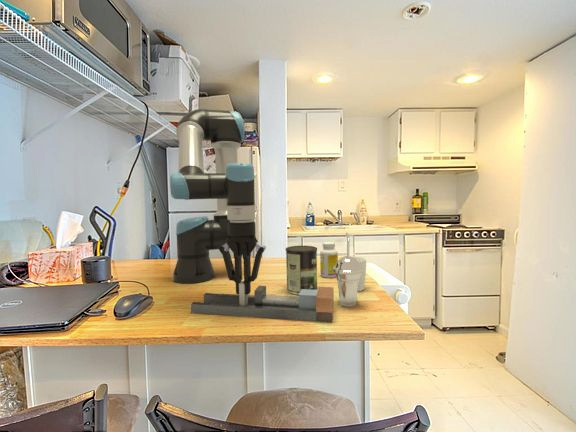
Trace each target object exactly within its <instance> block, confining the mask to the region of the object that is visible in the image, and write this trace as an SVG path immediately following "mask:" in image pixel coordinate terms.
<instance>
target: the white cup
mask: <svg viewBox="0 0 576 432" xmlns="http://www.w3.org/2000/svg"><path fill="white" fill-rule="evenodd" d="M352 257H353V258H355V259H356V260H357V261H358V262H359V264H360V267H362V268H363V272H362V273H360V278H359V282H358V291H357V292H361V291H362V290H363V291H364V290H365V288H366V284H365V283H366V282H365V281H366V274H367V273H366V272H367V258H365V257H362V256H352ZM363 291H362V292H363Z"/></svg>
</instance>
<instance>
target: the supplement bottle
mask: <svg viewBox="0 0 576 432" xmlns="http://www.w3.org/2000/svg"><path fill="white" fill-rule="evenodd" d="M335 247H336V243H335V242H333V241H325V242H324V241H323V242H322V248H321V250H320V254H319V257H320V261H319V262H320V276H321V277H322V278H327V279H328V278H329V279H330V278H331V279H332V278H336V272H334V271H333V267H334V266H336V263H337V261H338V260H339V258H338V256H339V255H338V253H339V252H338V250H337V249H336V248H335Z"/></svg>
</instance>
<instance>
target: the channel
mask: <svg viewBox="0 0 576 432" xmlns="http://www.w3.org/2000/svg"><path fill="white" fill-rule="evenodd" d="M317 290H318V292H317V296H316V309H302V308H285V307H268V306H255V295H254V294H253V295H250V294H248V304H247V305H240V304H239V294H232V293H211V292H209V293H208V292H205V293H204V294H203V302H200V301H199V302H198V301H197V302H196V301H193V302H191V303H190V314H199V315H201V314H202V315H214V316H215V315H216V316H230V317H243V318H244V317H245V318H260V319H276V320H290V321H302V322H303V321H305V322H316V323H317V322H320V323H322V322H323V323H333V319H334V317H333V316H334V309H335V308H334V306H335V305H334V304H335V303H334V301H335V300H334V298H335V295H334V293H335V292H334V286H332V287H331V286H318V288H317Z"/></svg>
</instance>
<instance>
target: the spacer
mask: <svg viewBox="0 0 576 432" xmlns="http://www.w3.org/2000/svg"><path fill="white" fill-rule="evenodd" d="M317 292H318V289H317V290H309V289H301V291H300V293H299V295H298V296H299V308H302V309H316V296H317Z"/></svg>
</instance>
